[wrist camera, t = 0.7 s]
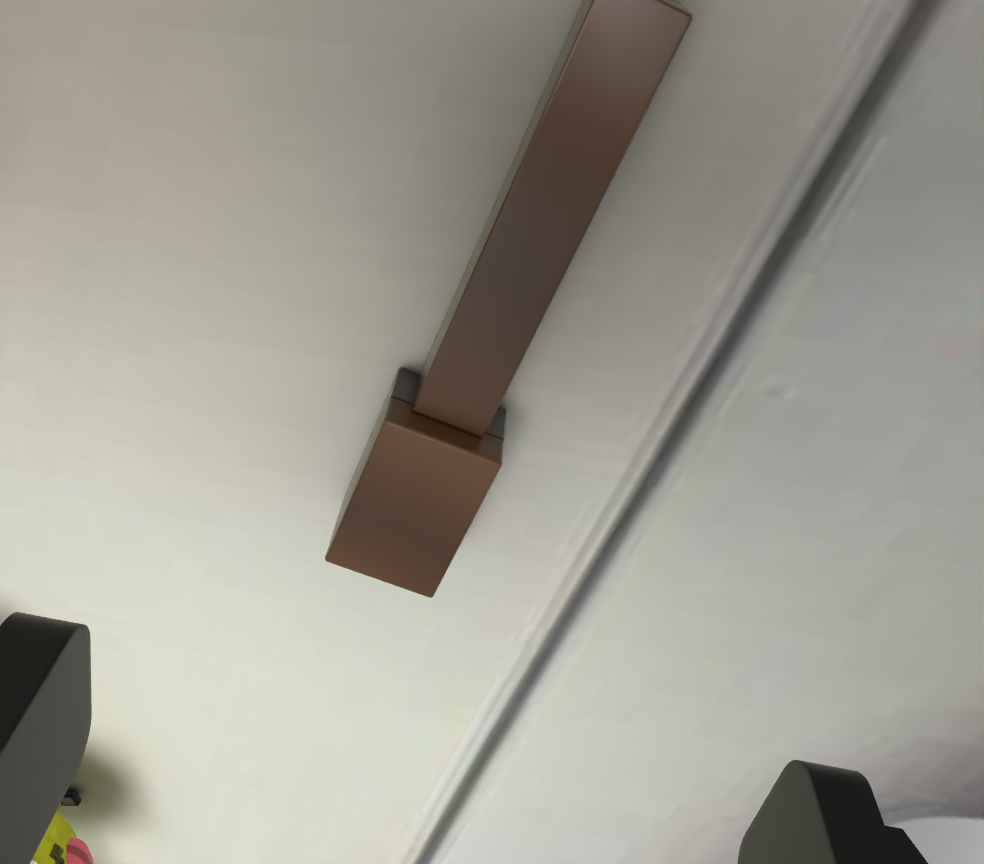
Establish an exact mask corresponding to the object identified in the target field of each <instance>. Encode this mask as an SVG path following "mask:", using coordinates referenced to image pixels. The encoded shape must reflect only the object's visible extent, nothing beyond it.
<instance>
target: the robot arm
mask: <svg viewBox="0 0 984 864" xmlns="http://www.w3.org/2000/svg"><path fill="white" fill-rule="evenodd" d="M90 725H91V656H90V632H89V629H88V627H87V626H86V625H83V624H78V623H73V622H67V621H62V620H57V619H51V618H46V617H41V616H35V615H30V614H25V613H18V612H16V613H13V614H12V615H10V616H9V617H8V618H7V619H6V620H5V621H4V622H3V623H2V625H1V626H0V864H30V863H31V861H32V859H33V857H34V855H35V853H36V851H37V849H38V847H39V845H40V843H41V841H42V839H43V837H44V835H45V833H46V831H47V829H48V827H49V825H50V823H51V821H52V819H53V817H54V815H55V813H56V811H57V809H58V807H59V805H60V803H61V801H62V800H63V798H64V796H65V794H66V792H67V790H68V788H69V786H70V784H71V782H72V780H73V778H74V776H75V774H76V772H77V769H78V767H79V764H80V762H81V759H82V756H83V754H84V750H85V747H86V744H87V740H88V736H89V731H90ZM738 864H928V863H927V861H926V860H925V859H924V857H923V856H922V855H921V853H920V852H919V851H918V849H917V848H916V847H915V845H914V844H913V843H912V841H911V840H910V839H909V837H908V836H907V834H906V833H905V832H904V830H903V829H900V828H895V827H889V826H885V825H884V823H883V820H882V817H881V814H880V811H879V809H878V806H877V803H876V800H875V797H874V795H873V792H872V789H871V787H870V785H869V783H868V781H867V779H866V778H865V777H864V776H863V775H862V774H861V773H859V772H857V771H853V770H848V769H842V768H837V767H831V766H826V765H821V764H815V763H810V762H805V761H799V760H793V761H791V762H789V763H788V764H787V765H786V767H785V768H784V770H783V771H782V773H781V775H780V776H779V778H778V780H777V781H776V783H775V785H774V786H773V788H772V790H771V791H770V793H769V795H768V796H767V798H766V800H765V802H764V803H763V805H762V807H761V808H760V810H759V812H758V813H757V815H756V817H755V818H754V820H753V822H752V823H751V825H750V827H749V829H748V830H747V832H746V834H745V836H744V838H743V840H742V843H741V847H740V851H739V856H738Z"/></svg>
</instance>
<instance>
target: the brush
mask: <svg viewBox="0 0 984 864" xmlns="http://www.w3.org/2000/svg"><path fill="white" fill-rule="evenodd" d="M692 17H693V16H692V15H691V14H690V12H689V11H688V10H687V9H686V8H685V7H684V6H683V5H682V4H681V3H680V2H678V1H676V0H583V3H582V5H581V7H580V10H579V12H578V14H577V16H576V19H575V21H574V23H573V26H572V28H571V30H570V32H569V35H568V37H567V39H566V42H565V44H564V46H563V49H562V51H561V53H560V55H559V58H558V60H557V62H556V65H555V67H554V69H553V71H552V74H551V76H550V78H549V81H548V83H547V85H546V87H545V90H544V92H543V94H542V97H541V99H540V101H539V103H538V106H537V108H536V110H535V113H534V115H533V117H532V120H531V122H530V124H529V126H528V129H527V131H526V133H525V136H524V138H523V140H522V142H521V145H520V147H519V149H518V152H517V154H516V156H515V158H514V161H513V163H512V165H511V168H510V170H509V172H508V174H507V177H506V179H505V181H504V184H503V186H502V188H501V191H500V193H499V195H498V197H497V200H496V202H495V204H494V207H493V209H492V211H491V213H490V216H489V218H488V220H487V223H486V225H485V227H484V229H483V232H482V234H481V236H480V239H479V241H478V243H477V245H476V248H475V250H474V252H473V255H472V257H471V259H470V262H469V264H468V266H467V268H466V271H465V273H464V275H463V278H462V280H461V282H460V284H459V287H458V289H457V291H456V294H455V296H454V298H453V300H452V303H451V305H450V307H449V310H448V312H447V314H446V316H445V319H444V321H443V323H442V326H441V328H440V330H439V333H438V335H437V337H436V339H435V342H434V344H433V346H432V349H431V351H430V353H429V355H428V358H427V360H426V362H425V365H424V367H423V369H422V371H421V374H420V376H419V375H417V374H414V373H412V372H409V371H407V370H404V369H402V368H399V369H398V371H397V374H396V376H395V378H394V381H393V383H392V386H391V388H390V390H389V393H388V395H387V397H386V400H385V402H384V405H383V407H382V409H381V412H380V414H379V417H378V419H377V421H376V424H375V426H374V428H373V431H372V433H371V436H370V438H369V440H368V443H367V445H366V447H365V450H364V452H363V455H362V457H361V459H360V462H359V464H358V466H357V469H356V471H355V474H354V476H353V478H352V481H351V483H350V485H349V488H348V490H347V493H346V495H345V497H344V500H343V502H342V505H341V509H340V512H339V515H338V518H337V521H336V524H335V528H334V531H333V534H332V537H331V541H330V544H329V547H328V550H327V553H326V556H325V560H326V561H327V562H330V563H333V564H336V565H338V566H341V567H344V568H347V569H350V570H353V571H356V572H358V573H361V574H364V575H367V576H370V577H373V578H376V579H378V580H381V581H384V582H387V583H390V584H393V585H395V586H398V587H401V588H404V589H407V590H410V591H413V592H415V593H418V594H421V595H424V596H427V597H431V598H432V597H433V596H434V594H435V592H436V590H437V588H438V586H439V584H440V582H441V580H442V578H443V577H444V575H445V573H446V571H447V569H448V567H449V565H450V563H451V561H452V559H453V557H454V555H455V554H456V552H457V550H458V548H459V546H460V544H461V542H462V540H463V538H464V536H465V534H466V533H467V531H468V529H469V527H470V525H471V523H472V521H473V519H474V517H475V515H476V513H477V511H478V510H479V508H480V506H481V504H482V502H483V500H484V498H485V496H486V494H487V492H488V490H489V488H490V487H491V485H492V483H493V481H494V479H495V477H496V475H497V473H498V471H499V469H500V467H501V465H502V453H503V441H504V432H505V418H506V410H505V409H503V408H501V407H499V405H500V403H501V401H502V399H503V397H504V395H505V393H506V391H507V389H508V387H509V385H510V383H511V381H512V379H513V377H514V375H515V373H516V371H517V369H518V367H519V365H520V363H521V361H522V359H523V357H524V355H525V353H526V351H527V349H528V347H529V345H530V343H531V341H532V339H533V337H534V335H535V333H536V331H537V329H538V327H539V325H540V323H541V321H542V319H543V317H544V315H545V313H546V311H547V309H548V307H549V305H550V303H551V301H552V299H553V297H554V295H555V293H556V291H557V289H558V287H559V285H560V283H561V281H562V279H563V277H564V275H565V273H566V271H567V269H568V267H569V265H570V263H571V261H572V259H573V257H574V255H575V253H576V251H577V249H578V247H579V245H580V243H581V241H582V239H583V237H584V235H585V233H586V231H587V229H588V227H589V225H590V223H591V221H592V219H593V217H594V215H595V213H596V211H597V209H598V207H599V205H600V203H601V201H602V199H603V197H604V195H605V193H606V191H607V189H608V187H609V185H610V183H611V181H612V179H613V177H614V175H615V173H616V171H617V169H618V167H619V165H620V163H621V161H622V159H623V157H624V155H625V153H626V151H627V149H628V147H629V145H630V143H631V141H632V139H633V137H634V135H635V133H636V131H637V129H638V127H639V125H640V123H641V121H642V119H643V117H644V115H645V113H646V111H647V109H648V107H649V105H650V103H651V101H652V99H653V97H654V95H655V93H656V91H657V89H658V87H659V85H660V83H661V81H662V79H663V77H664V75H665V73H666V71H667V69H668V67H669V65H670V63H671V61H672V59H673V57H674V55H675V53H676V51H677V49H678V47H679V45H680V43H681V41H682V39H683V37H684V35H685V33H686V31H687V29H688V27H689V25H690V23H691V21H692Z"/></svg>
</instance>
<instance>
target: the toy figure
mask: <svg viewBox="0 0 984 864" xmlns="http://www.w3.org/2000/svg"><path fill="white" fill-rule="evenodd" d="M81 801H82V799H81V798H80V796H79V794H78V793H77V791H76V790H75V789H69V788H68V790H67V792H66V794H65V796H64V798H63V800H62V801H61V803H60V805H59V807H58V809H57V811H56V813H55V815H54V817H53V819H52V821H51V823H50V825H49V827H48V829H47V831H46V833H45V835H44V837H43V839H42V841H41V843H40V845H39V847H38V849H37V851H36V853H35V855H34V857H33V859H32V861H31V863H30V864H93V859H92V856H91V854H90V853H89V849H88V847H87V845H86V844H85V843H84V842H83V841H81V840H80V839H77V838H76V835H75V833H74V831H73V829H72V828H71V826H70V825H69V824H68V823H67V822H66V820H65V819H64V818H63V817H62V816H61V815H60V814H59V813H58V810H59V808H60V807H61V805H68V806H79V804H80V802H81Z"/></svg>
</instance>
